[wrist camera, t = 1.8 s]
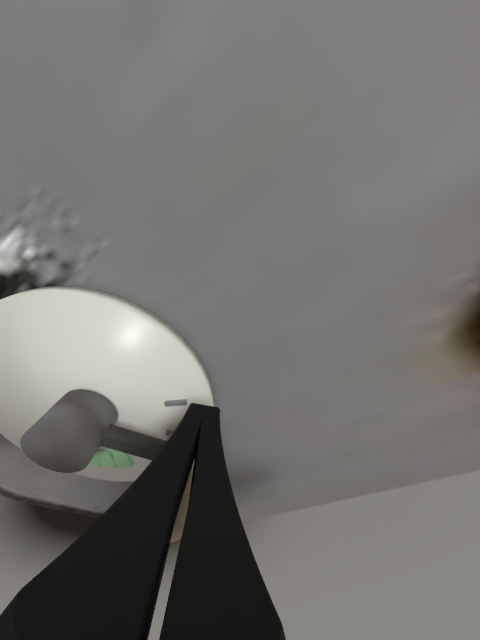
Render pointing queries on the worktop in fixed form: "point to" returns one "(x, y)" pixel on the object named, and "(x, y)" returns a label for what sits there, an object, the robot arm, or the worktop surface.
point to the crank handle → (90, 439)
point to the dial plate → (95, 367)
